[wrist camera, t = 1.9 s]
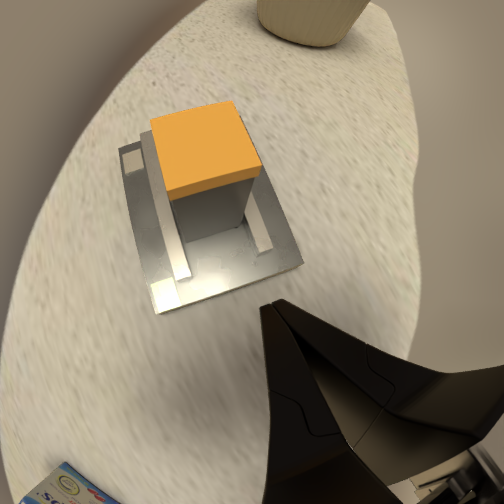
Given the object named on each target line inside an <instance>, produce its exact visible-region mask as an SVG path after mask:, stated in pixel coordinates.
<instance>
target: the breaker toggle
mask: <svg viewBox="0 0 504 504" xmlns="http://www.w3.org/2000/svg"><path fill="white" fill-rule="evenodd" d="M150 123H151V128H152V132H153V137H154V141H155V146H156V150H157V154H158V159H159V163H160V167H161V171H162V175H163V179H164V183H165V187H166V190H167V194H168V197H169V200H170V201H173V205H174V208H175V211H176V214H177V217H178V220H179V223H180V227H181V230H182V233H183V236H184V239H185V242H186V243H188V242H191V241H194V240H197V239H200V238H203V237H206V236H210V235H213V234H216V233H219V232H222V231H226V230H229V229H232V228H235V227H238V226H240V224H241V221H242V218H243V215H244V211H245V208H246V205H247V201H248V198H249V195H250V192H251V189H252V185H253V182H254V179H255V177H257V176H259V173H260V170H261V167H262V164H261V161H260V159H259V157H258V155H257V152H256V150H255V148H254V146H253V144H252V142H251V139H250V137H249V135H248V133H247V131H246V129H245V126H244V124H243V122H242V120H241V118H240V116H239V114H238V112H237V110H236V108H235V106H234V104H233V101H226V102H221V103H216V104H211V105H206V106H201V107H197V108H193V109H188V110H184V111H180V112H176V113H172V114H169V115H165V116H161V117H158V118H155V119H151V120H150Z"/></svg>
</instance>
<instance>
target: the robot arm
mask: <svg viewBox="0 0 504 504" xmlns="http://www.w3.org/2000/svg"><path fill="white" fill-rule="evenodd" d="M259 310H260V320H261V329H262V339H263V348H264V358H265V367H266V377H267V386H268V397H269V410H270V434H269V449H268V462H267V474H266V483H265V489H264V494H263V499H262V504H403V503H402V502H401V501H400V500H399V499H398V498H397V497H396V496H395V495H394V494H393V493H392V492H391V491H390V490H389V488H388V487H387V486H389V485H392V484H395V483H397V482H400V481H403V480H405V479H408V478H409V479H410V480H411V482H412V483H413V485H414V486H415V488H416V489H417V490H416V491H414V492H415V494H416V496H417V497H418V498H419V500H420V502H419V503H417V504H504V365H501V366H497V367H492V368H485V369H479V370H472V371H465V372H457V373H444V372H438V371H434V370H431V369H428V368H425V367H422V366H420V365H417V364H414V363H411V362H408V361H405V360H403V359H400V358H398V357H395V356H393V355H390V354H388V353H386V352H384V351H381V350H379V349H377V348H375V347H373V346H371V345H369V344H366V343H365V342H363V341H361V340H359V339H357V338H356V337H354V336H352V335H350V334H348V333H346V332H344V331H342V330H340V329H338V328H336V327H334V326H333V325H331V324H329V323H327V322H325V321H323V320H321V319H319V318H317V317H316V316H314V315H312V314H310V313H308V312H306V311H304V310H303V309H301V308H299V307H297V306H295V305H293V304H291V303H290V302H288V301H286V300H284V299H280V300H277V301H274V302H272V303H271V304H266V305H264V306H261V307H260V308H259ZM345 438H346V439H345ZM346 440H347V441H348V443H349V444H350V445H351V447H352V448H353V450H354V451H355V452H354V451H353V450H352V449H351V447H350V446H349V444H348V443H347V441H346ZM471 490H472V491H471ZM470 491H471V492H470Z"/></svg>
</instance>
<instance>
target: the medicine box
mask: <svg viewBox="0 0 504 504" xmlns="http://www.w3.org/2000/svg"><path fill="white" fill-rule="evenodd" d="M19 504H119V503H118V502H116V501H115V500H113V499H112V498H110V497H109V496H107V495H106V494H105V493H103V492H102V491H100V490H99V489H97V488H96V487H95V486H93V485H92V484H91V483H89V482H88V481H87V480H86V479H84V478H83V477H82V476H81V475H79V474H78V473H77V472H76V471H75V470H73V469H72V468H71V467H70V466H69V465H68V464H67V463H65V462H64V463H62V464H61V465H60V466H59V467H58V468H56V469H55V470H54V471H53V472H52V473H51V474H50V475H49V476H48V477H46V478H45V479H44V480H43V481H42V482H41V483H39V484H38V485H37V486H36V487H35V488H34V489H32V490H31V491H30V492H29V493H28V494H27V495H26V496H24V497H23V498H22V500H21V501H20V503H19Z"/></svg>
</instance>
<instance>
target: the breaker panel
mask: <svg viewBox="0 0 504 504" xmlns="http://www.w3.org/2000/svg"><path fill="white" fill-rule="evenodd" d="M240 118H241V116H240ZM241 120H242V119H241ZM242 122H243V121H242ZM243 124H244V123H243ZM244 126H245V125H244ZM245 129H246V127H245ZM246 131H247V129H246ZM247 133H248V131H247ZM248 135H249V133H248ZM249 137H250V136H249ZM140 138H141V141H138V142H135V143H132V144H129V145H126V146H124V147H121V148H118V149H119V157H120V164H121V170H122V177H123V183H124V189H125V194H126V199H127V205H128V210H129V215H130V219H131V224H132V229H133V233H134V237H135V242H136V246H137V250H138V254H139V258H140V262H141V265H142V269H143V273H144V276H145V280H146V283H147V287H148V290H149V293H150V297H151V300H152V303H153V306H154V310H155V313H156V314H164V313H167V312H171V311H174V310H177V309H180V308H183V307H186V306H189V305H192V304H195V303H198V302H201V301H204V300H207V299H210V298H213V297H216V296H219V295H222V294H225V293H228V292H230V291H233V290H236V289H239V288H242V287H245V286H248V285H251V284H253V283H256V282H259V281H262V280H265V279H267V278H270V277H273V276H276V275H279V274H281V273H284V272H287V271H289V270H292V269H295V268H297V267H299V266H300V265H302V264H303V263H304V261H303V259H302V256H301V254H300V251H299V249H298V246H297V244H296V241H295V239H294V236H293V234H292V232H291V229H290V227H289V224H288V222H287V219H286V217H285V215H284V212H283V210H282V207H281V205H280V203H279V200H278V198H277V196H276V193H275V191H274V189H273V187H272V184H271V182H270V180H269V177H268V175H267V173H266V171H265V168H264V166H263V164H262V162H261V164H262V167H261V170H260V173H259V176H257V177H255V179H254V182H253V185H252V189H251V192H250V195H249V198H248V201H247V205H246V208H245V211H244V215H243V218H242V221H241V224H240V226H238V227H235V228H232V229H229V230H226V231H222V232H219V233H216V234H213V235H210V236H206V237H203V238H200V239H197V240H194V241H191V242H188V243H186V242H185V239H184V236H183V233H182V230H181V227H180V223H179V220H178V217H177V214H176V211H175V208H174V205H173V201H170V200H169V197H168V194H167V190H166V187H165V183H164V179H163V175H162V171H161V167H160V163H159V159H158V154H157V150H156V146H155V141H154V137H153V133H152V130H150V131H147V132H144V133H141V134H140ZM250 139H251V138H250ZM251 142H252V140H251ZM252 144H253V142H252ZM253 146H254V144H253ZM254 148H255V146H254ZM255 150H256V148H255ZM256 152H257V151H256ZM257 155H258V153H257ZM258 157H259V155H258ZM259 159H260V157H259ZM260 161H261V159H260Z"/></svg>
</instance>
